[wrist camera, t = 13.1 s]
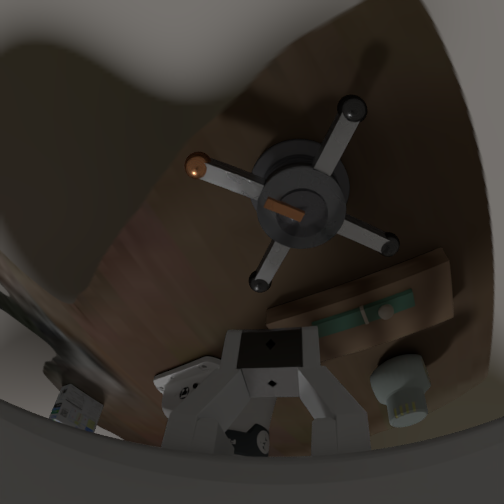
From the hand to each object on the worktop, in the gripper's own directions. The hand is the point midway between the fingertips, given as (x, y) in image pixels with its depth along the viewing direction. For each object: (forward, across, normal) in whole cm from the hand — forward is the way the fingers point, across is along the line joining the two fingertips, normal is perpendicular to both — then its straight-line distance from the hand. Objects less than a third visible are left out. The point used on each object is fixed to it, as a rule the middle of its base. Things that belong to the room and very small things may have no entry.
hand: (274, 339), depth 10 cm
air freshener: (+21, -16, +34) cm, 43 cm away
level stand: (+20, -8, +20) cm, 29 cm away
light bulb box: (+22, +54, +51) cm, 77 cm away
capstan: (+19, -1, +3) cm, 19 cm away
